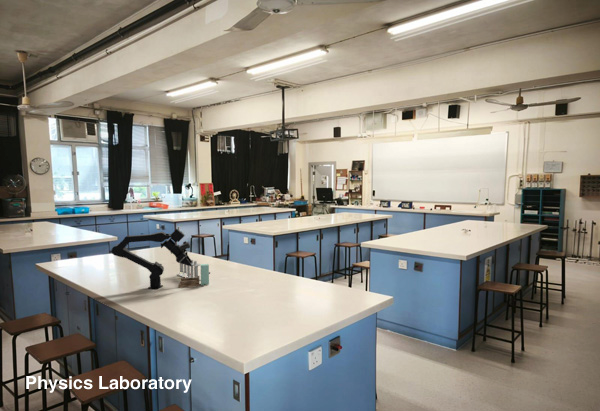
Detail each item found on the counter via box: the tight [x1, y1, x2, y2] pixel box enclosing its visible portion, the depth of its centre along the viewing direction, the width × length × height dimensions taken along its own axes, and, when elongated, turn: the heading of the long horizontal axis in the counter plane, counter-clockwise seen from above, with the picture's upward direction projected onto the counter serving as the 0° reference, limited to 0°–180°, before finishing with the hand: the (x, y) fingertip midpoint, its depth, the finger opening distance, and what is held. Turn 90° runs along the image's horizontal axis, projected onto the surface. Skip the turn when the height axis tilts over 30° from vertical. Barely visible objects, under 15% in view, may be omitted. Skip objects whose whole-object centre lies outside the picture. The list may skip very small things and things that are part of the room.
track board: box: [178, 275, 201, 289], centre depth 220 cm, size 12×10×4 cm
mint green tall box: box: [200, 263, 211, 286], centre depth 222 cm, size 6×4×12 cm, turn 105°
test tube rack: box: [176, 259, 202, 282], centre depth 236 cm, size 25×4×13 cm, turn 48°
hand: (191, 264), depth 219 cm, fingers open, 9 cm apart
